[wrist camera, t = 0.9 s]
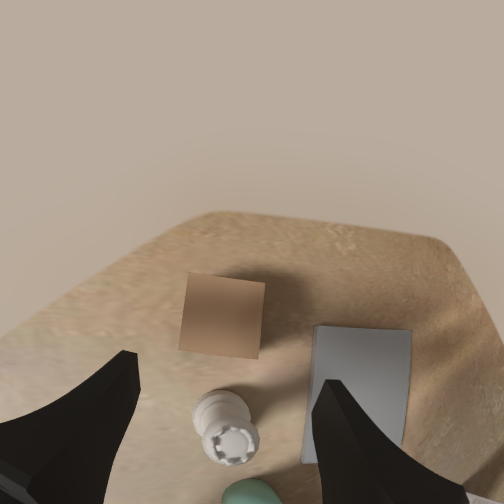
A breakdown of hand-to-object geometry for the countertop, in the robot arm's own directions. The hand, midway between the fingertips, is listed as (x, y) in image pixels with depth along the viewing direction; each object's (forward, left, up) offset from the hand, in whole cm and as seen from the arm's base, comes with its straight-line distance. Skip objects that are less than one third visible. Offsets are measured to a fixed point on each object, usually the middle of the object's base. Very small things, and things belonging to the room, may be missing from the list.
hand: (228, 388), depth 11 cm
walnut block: (+4, 0, -13) cm, 13 cm away
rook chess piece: (-4, -1, -13) cm, 13 cm away
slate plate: (-2, -13, -12) cm, 18 cm away
